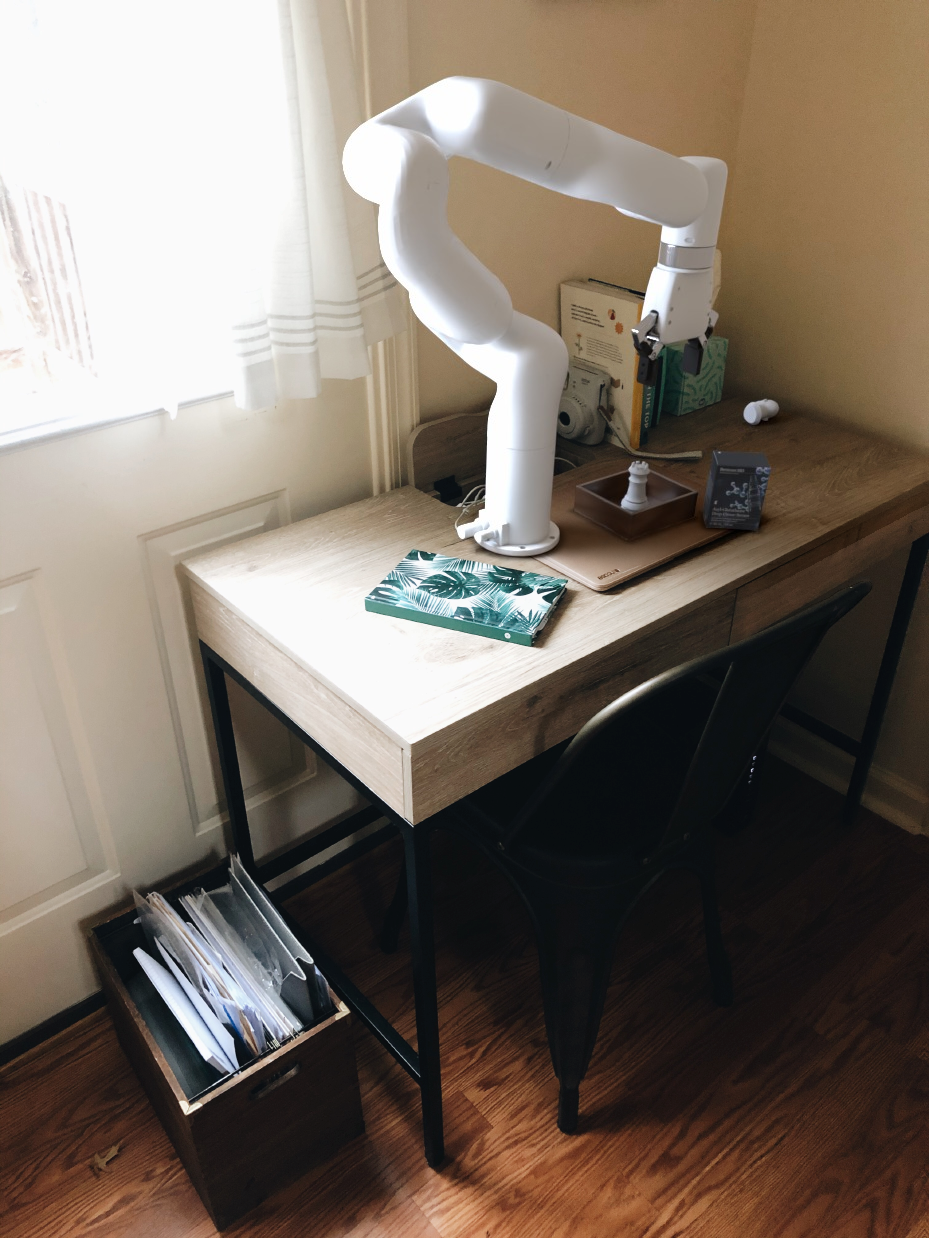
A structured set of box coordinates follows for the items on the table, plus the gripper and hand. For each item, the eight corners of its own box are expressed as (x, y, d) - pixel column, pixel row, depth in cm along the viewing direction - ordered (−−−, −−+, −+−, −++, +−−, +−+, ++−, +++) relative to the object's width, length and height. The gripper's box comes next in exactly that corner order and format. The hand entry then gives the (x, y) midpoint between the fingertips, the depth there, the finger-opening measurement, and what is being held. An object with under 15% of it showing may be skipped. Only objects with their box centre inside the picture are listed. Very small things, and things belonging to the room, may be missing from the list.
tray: (628, 541, 141) (631, 515, 139) (573, 510, 149) (575, 485, 147) (694, 517, 148) (698, 491, 146) (638, 489, 156) (641, 465, 154)
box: (705, 529, 145) (717, 464, 139) (701, 512, 149) (712, 449, 144) (758, 532, 144) (772, 467, 138) (752, 515, 149) (765, 451, 143)
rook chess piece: (632, 503, 151) (638, 456, 147) (654, 513, 148) (661, 465, 144) (613, 511, 149) (618, 463, 144) (635, 521, 146) (641, 472, 141)
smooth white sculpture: (761, 418, 188) (783, 418, 184) (734, 426, 184) (757, 426, 180) (760, 396, 187) (782, 395, 183) (733, 403, 183) (755, 403, 179)
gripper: (705, 245, 139) (687, 362, 148) (622, 258, 129) (608, 382, 138) (747, 255, 134) (726, 375, 143) (664, 268, 124) (647, 396, 133)
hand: (668, 378), depth 141 cm, fingers open, 9 cm apart
